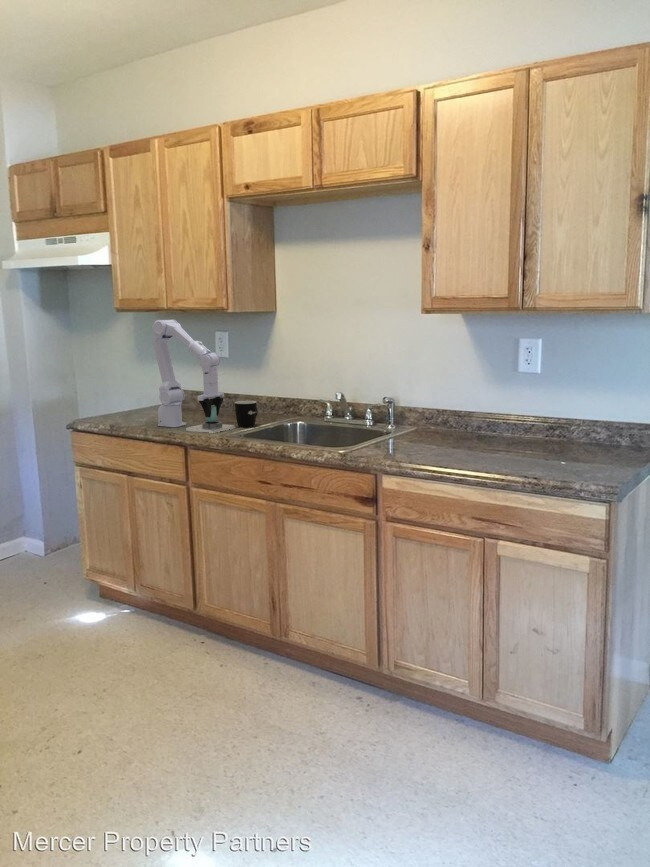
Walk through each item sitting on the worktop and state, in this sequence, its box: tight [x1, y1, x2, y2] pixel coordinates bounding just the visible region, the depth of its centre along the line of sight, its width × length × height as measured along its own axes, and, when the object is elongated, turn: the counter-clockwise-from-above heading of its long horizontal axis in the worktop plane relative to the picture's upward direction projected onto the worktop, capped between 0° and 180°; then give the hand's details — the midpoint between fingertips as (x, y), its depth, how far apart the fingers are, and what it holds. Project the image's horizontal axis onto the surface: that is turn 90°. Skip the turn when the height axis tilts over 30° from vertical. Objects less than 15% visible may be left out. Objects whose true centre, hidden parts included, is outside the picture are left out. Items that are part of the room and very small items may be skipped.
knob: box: [205, 405, 218, 422], centre depth 293 cm, size 4×4×6 cm
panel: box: [185, 420, 236, 434], centre depth 293 cm, size 14×14×3 cm
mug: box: [234, 400, 258, 428], centre depth 301 cm, size 12×9×10 cm
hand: (211, 416), depth 294 cm, fingers closed on knob, 4 cm apart
